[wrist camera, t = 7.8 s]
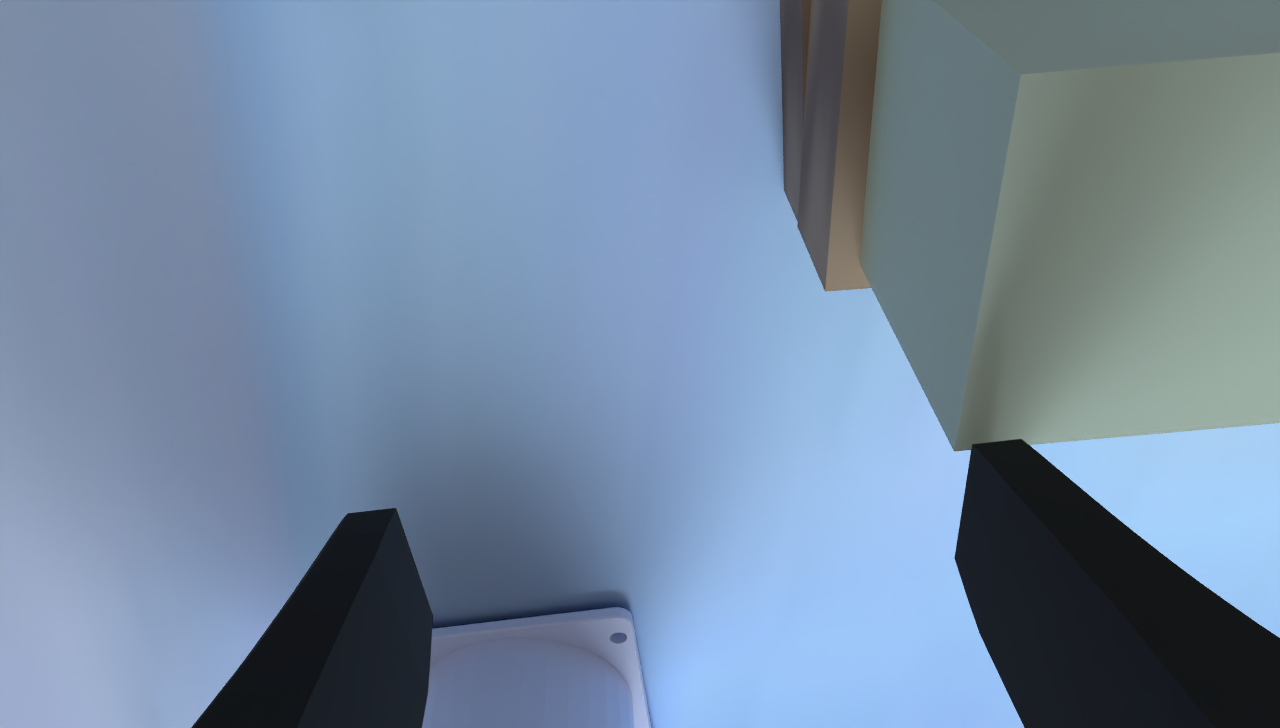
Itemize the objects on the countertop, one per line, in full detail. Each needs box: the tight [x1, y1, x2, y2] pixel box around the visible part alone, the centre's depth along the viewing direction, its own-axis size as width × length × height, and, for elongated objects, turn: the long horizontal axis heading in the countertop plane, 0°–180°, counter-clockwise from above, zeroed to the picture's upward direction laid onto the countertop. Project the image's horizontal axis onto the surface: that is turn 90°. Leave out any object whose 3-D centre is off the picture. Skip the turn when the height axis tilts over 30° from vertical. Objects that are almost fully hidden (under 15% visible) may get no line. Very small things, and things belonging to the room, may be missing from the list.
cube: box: [859, 0, 1280, 451], centre depth 13 cm, size 5×5×5 cm
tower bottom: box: [780, 0, 810, 221], centre depth 18 cm, size 6×6×2 cm
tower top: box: [798, 0, 882, 291], centre depth 16 cm, size 6×6×2 cm
